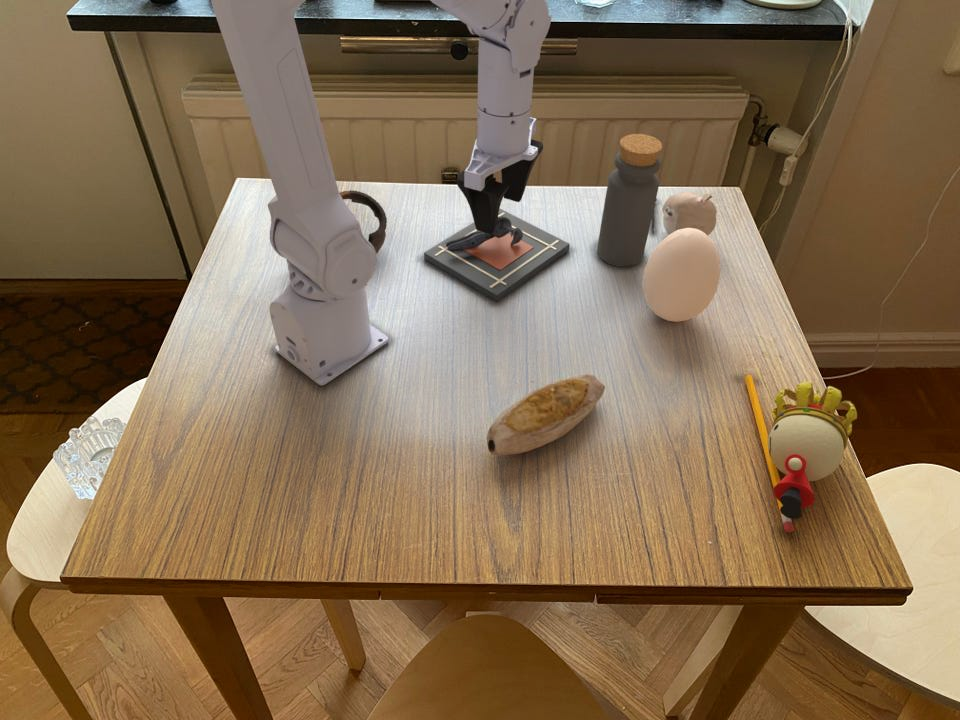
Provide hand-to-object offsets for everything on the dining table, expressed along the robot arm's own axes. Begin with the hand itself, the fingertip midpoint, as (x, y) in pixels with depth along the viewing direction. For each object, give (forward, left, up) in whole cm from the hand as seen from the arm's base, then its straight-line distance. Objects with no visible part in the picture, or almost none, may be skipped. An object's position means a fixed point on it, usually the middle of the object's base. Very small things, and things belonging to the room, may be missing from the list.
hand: (499, 214), depth 84 cm
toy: (-13, -44, -3) cm, 46 cm away
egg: (+5, -22, -6) cm, 23 cm away
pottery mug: (-13, +15, -6) cm, 21 cm away
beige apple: (+20, -15, -6) cm, 25 cm away
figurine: (-1, +3, -1) cm, 3 cm away
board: (0, 0, -6) cm, 6 cm away
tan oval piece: (-18, -22, -6) cm, 29 cm away
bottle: (+11, -11, -6) cm, 17 cm away
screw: (+21, -10, -6) cm, 24 cm away
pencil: (-6, -39, -6) cm, 40 cm away
